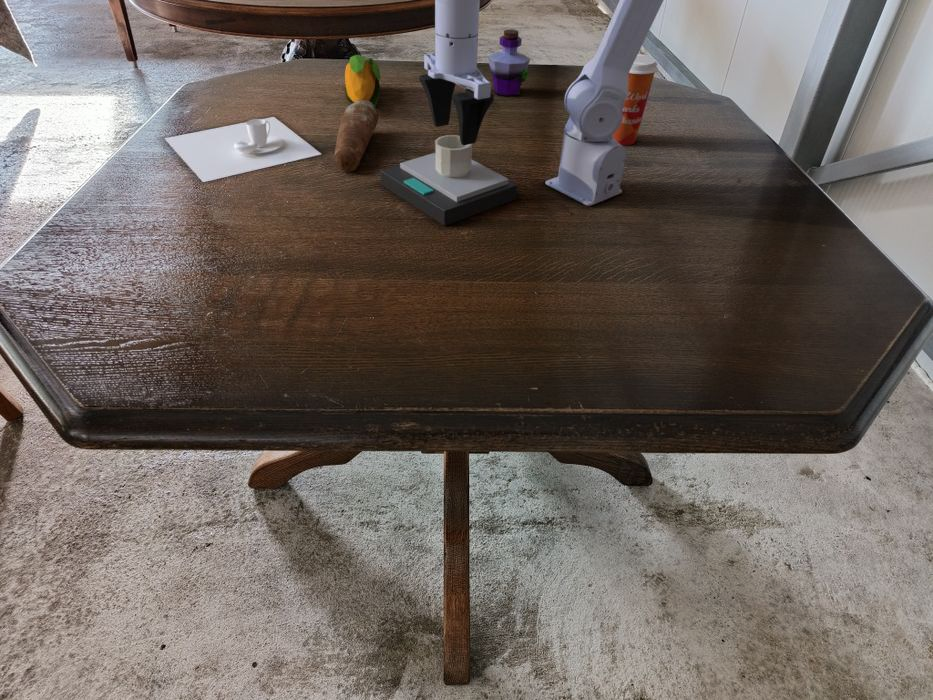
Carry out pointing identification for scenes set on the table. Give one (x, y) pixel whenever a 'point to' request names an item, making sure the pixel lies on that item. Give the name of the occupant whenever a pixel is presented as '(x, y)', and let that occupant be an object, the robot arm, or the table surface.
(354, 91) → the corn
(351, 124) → the brown yam
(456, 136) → the white faceted cup
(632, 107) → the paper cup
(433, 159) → the scale
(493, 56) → the potion bottle
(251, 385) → the table surface
